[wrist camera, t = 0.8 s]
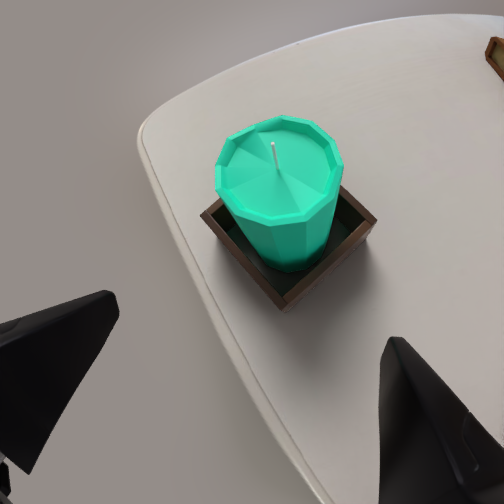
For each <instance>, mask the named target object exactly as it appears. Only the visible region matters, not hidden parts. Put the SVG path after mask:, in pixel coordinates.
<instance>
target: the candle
mask: <svg viewBox="0 0 504 504" xmlns="http://www.w3.org/2000/svg"><path fill="white" fill-rule="evenodd" d="M343 168H344V164H343V162H342V159H341V156H340V153H339V151H338V148H337V145H336V143H335V140H334V139H333V138H331V137H330V136H329V135H328V134H327V133H326V132H325V131H323V130H322V129H321V128H320V127H319V126H318V125H316V124H315V123H314V122H313V121H310V120H306V119H301V118H296V117H291V116H285V115H281V116H278V117H274V118H271V119H268V120H265V121H263V122H260V123H257V124H254V125H252V126H250V127H247V128H245V129H243V130H241V131H239V132H237V133H235V134H233V135H231V136H229V137H228V138H227V139H226V142H225V144H224V146H223V148H222V151H221V153H220V155H219V158H218V160H217V162H216V165H215V191H216V192H217V194H218V195H219V197H220V198H221V200H222V201H223V203H224V204H225V206H226V207H227V209H228V210H229V212H230V213H231V215H232V216H233V218H234V219H235V221H236V222H237V224H238V225H239V227H240V228H241V230H242V231H243V233H244V234H245V236H246V237H247V239H248V240H249V242H250V243H251V245H252V246H253V248H254V249H255V251H256V252H257V253H258V255H259V256H260V257H261V258H262V260H263V261H264V262H265V263H266V265H267V266H269V267H272V268H275V269H277V270H280V271H283V272H285V273H288V272H294V271H300V270H306V269H307V268H309V267H310V266H311V265H312V264H314V263H315V262H316V261H317V260H318V259H320V258H321V257H322V255H323V252H324V249H325V246H326V244H327V241H328V238H329V233H330V229H331V225H332V221H333V216H334V212H335V207H336V203H337V198H338V193H339V188H340V183H341V179H342V173H343Z"/></svg>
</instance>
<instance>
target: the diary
mask: <svg viewBox="0 0 504 504" xmlns="http://www.w3.org/2000/svg"><path fill="white" fill-rule="evenodd" d="M485 57H486V60H487V61H488V63H489V64H490V65H491V66H492V67H493V68H494V70H495V71H496V72H497V73H498V74H499V76H500V77H501V78H502V80H503V81H504V39H502V38H499V37H491V39H490V41H489V44H488V46H487V49H486V51H485Z"/></svg>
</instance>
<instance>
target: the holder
mask: <svg viewBox="0 0 504 504" xmlns="http://www.w3.org/2000/svg"><path fill="white" fill-rule="evenodd" d="M334 216H335V217H336V218H337V219H338V220H339V221H340V222H341V223H342V224H343V225H344V226H345V227H346V228H347V229H348V230H349V231H350V232H351V234H350V235H349V236H348V237H347V238H346V239H345V240H344V241H343V242H342V243H341V244H340V245H339V246H338V247H337V248H336V249H335V250H333V251H332V252H331V253H330V254H329V255H328V256H327V257H326V258H325V259H324V260H323V261H322V262H321V263H319V264H318V265H317V266H316V267H315V268H314V269H313V270H312V271H311V272H310V273H308V274H307V275H306V276H305V277H304V278H303V279H302V280H301V281H299V282H298V283H297V284H296V285H295V286H294V287H293V288H292V289H290V290H289V291H288V292H287V293H286V294H285V295H284V296H282V297H281V296H280V294H279V293H278V292H277V291H276V290H275V289H274V288H273V286H272V285H271V284H270V283H269V282H268V281H267V280H266V278H265V277H264V276H263V275H262V274H261V273H260V272H259V270H258V269H257V268H256V267H255V266H254V265H253V263H252V262H251V261H250V260H249V259H248V258H247V257H246V255H245V254H244V253H243V252H242V251H241V250H240V249H239V247H238V246H237V245H236V244H235V243H234V242H233V241H232V239H231V238H230V237H229V236H228V235H227V234H226V232H227V231H229V230H230V229H231V228H232V227H233V226H234V225H235V224H237V222H236V221H235V219H234V218H233V216H232V215H231V213H230V212H229V210H228V209H227V207H226V206H225V204H224V203H223V201H222V200H221V198H219V199H218V200H217V201H216V202H215V203H213V204H212V205H211V206H210V207H209V208H208V209H207V211H206V210H205V211H204V212H203V213H202V214H201V215H200V217H201V218H202V219H203V220H204V221H205V223H206V224H207V225H208V226H209V227H210V229H211V230H212V231H213V232H214V233H215V235H216V236H217V237H218V238H219V239H220V240H221V242H222V243H223V244H224V245H225V246H226V248H227V249H228V250H229V251H230V252H231V253H232V255H233V256H234V257H235V258H236V259H237V261H238V262H239V263H240V264H241V265H242V266H243V268H244V269H245V270H246V271H247V272H248V273H249V275H250V276H251V277H252V278H253V279H254V280H255V282H256V283H257V284H258V285H259V286H260V287H261V289H262V290H263V291H264V292H265V293H266V294H267V296H268V297H269V298H270V299H271V300H272V301H273V302H274V304H275V305H276V306H277V307H278V308H279V309H280V310H281V311H282V312H284V313H286V312H287V311H289V310H290V309H291V308H292V307H293V306H294V305H295V304H297V303H298V302H299V301H300V300H301V299H302V298H303V297H304V296H306V295H307V294H308V293H309V292H310V291H311V290H312V289H313V288H314V287H316V286H317V285H318V284H319V283H320V282H321V281H322V280H323V279H324V278H325V277H326V276H328V275H329V274H330V273H331V272H332V271H333V270H334V269H335V268H336V267H337V266H338V265H339V264H340V263H341V262H342V261H344V260H345V259H346V258H347V257H348V256H349V255H350V254H351V253H352V252H353V251H354V250H355V249H356V248H357V247H358V246H359V245H360V244H361V243H362V242H363V241H364V240H365V239H366V238H367V236H368V235H369V233H370V232H371V230H372V229H373V227H374V225H375V224H376V222H377V219H376V218H375V217H374V216H373V215H372V214H371V213H370V212H369V211H368V210H367V209H366V208H365V207H364V206H363V205H362V204H361V203H359V202H358V201H357V200H356V199H355V198H354V197H353V196H352V195H351V194H350V193H349V192H348V191H347V190H346V189H345V188H343V187H342V186H341V185H340V188H339V193H338V198H337V203H336V207H335V212H334Z"/></svg>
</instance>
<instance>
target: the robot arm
mask: <svg viewBox="0 0 504 504" xmlns="http://www.w3.org/2000/svg"><path fill="white" fill-rule="evenodd" d="M118 318H119V308H118V304H117V300H116V296H115V294H114V293H113V292H111V291H107V290H102V291H99V292H96V293H93V294H89V295H87V296H84V297H81V298H77V299H74V300H72V301H68V302H65V303H62V304H59V305H56V306H53V307H50V308H47V309H44V310H41V311H38V312H36V313H32V314H29V315H26V316H23V317H22V318H21V317H20V318H17V319H14V320H11V321H8V322H5V323H2V324H0V504H13V503H11V501H10V500H9V499H8V498H7V497H8V495H9V494H10V492H11V487H10V479H9V469H8V466H7V464H6V463H4V461H3V460H4V459H5V457H7V458H8V459H10V460H11V461H12V462H13V463H14V464H15V465H17V466H18V467H19V468H20V469H22V470H23V471H24V472H25V473H27V474H28V475H29V474H30V473H31V471H32V469H33V467H34V465H35V463H36V461H37V459H38V457H39V455H40V453H41V451H42V449H43V447H44V445H45V444H46V442H47V440H48V438H49V436H50V434H51V432H52V430H53V429H54V427H55V425H56V423H57V421H58V419H59V418H60V416H61V414H62V413H63V411H64V409H65V407H66V406H67V404H68V402H69V401H70V399H71V397H72V396H73V394H74V392H75V391H76V389H77V387H78V386H79V384H80V382H81V381H82V379H83V378H84V376H85V374H86V373H87V371H88V370H89V368H90V367H91V365H92V363H93V362H94V360H95V359H96V357H97V356H98V354H99V353H100V351H101V349H102V347H103V346H104V344H105V342H106V340H107V338H108V336H109V334H110V332H111V330H112V329H113V327H114V325H115V323H116V321H117V320H118ZM378 408H379V434H380V483H379V504H504V448H503V447H502V446H501V445H500V444H499V443H498V442H497V441H496V440H495V439H494V438H493V437H492V436H491V435H490V434H489V433H488V432H487V430H486V429H485V428H484V427H483V426H482V425H481V424H480V422H479V421H478V420H477V419H476V418H475V417H474V415H473V414H472V413H471V412H469V410H468V409H467V407H466V406H465V405H464V404H463V403H462V402H461V400H460V399H459V398H458V397H457V396H456V395H455V394H454V392H453V391H452V390H451V389H450V388H449V387H448V386H447V384H446V383H445V382H444V381H443V380H442V379H441V378H440V377H439V376H438V374H437V373H436V372H435V371H434V370H433V369H432V368H431V367H430V366H429V365H428V364H427V362H426V361H425V360H424V359H423V358H422V357H421V356H420V355H419V354H418V353H417V352H416V351H415V350H414V349H413V347H412V346H411V345H410V344H409V343H408V342H407V341H406V340H405V339H404V338H402V337H390V338H389V339H388V341H387V344H386V346H385V349H384V351H383V354H382V356H381V360H380V384H379V407H378Z"/></svg>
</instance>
